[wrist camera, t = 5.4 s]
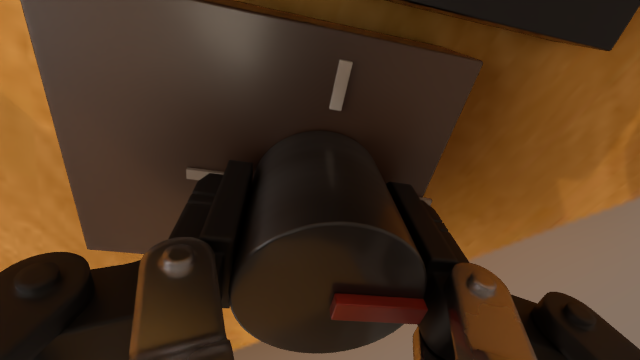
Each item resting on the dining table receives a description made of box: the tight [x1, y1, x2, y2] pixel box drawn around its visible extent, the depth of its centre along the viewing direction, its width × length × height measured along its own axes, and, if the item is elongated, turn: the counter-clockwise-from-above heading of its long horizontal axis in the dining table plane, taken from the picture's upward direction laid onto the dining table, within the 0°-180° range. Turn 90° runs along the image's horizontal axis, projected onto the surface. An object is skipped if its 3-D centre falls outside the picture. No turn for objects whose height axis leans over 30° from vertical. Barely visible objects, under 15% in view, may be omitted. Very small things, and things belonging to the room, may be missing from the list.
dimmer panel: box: [20, 0, 483, 254], centre depth 11 cm, size 12×9×3 cm
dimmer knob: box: [228, 131, 428, 353], centre depth 8 cm, size 4×4×5 cm
